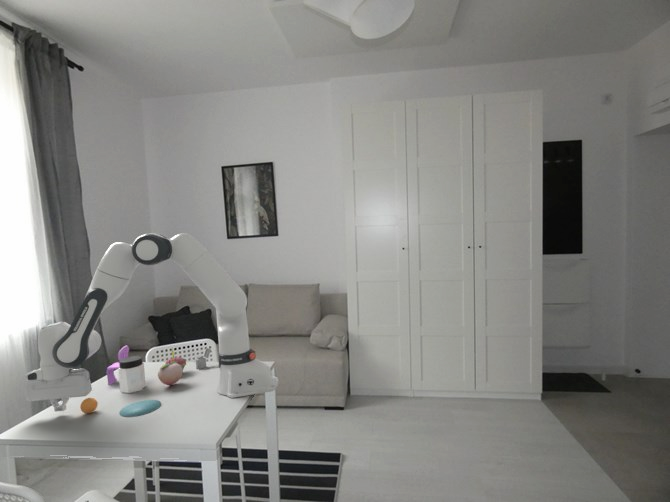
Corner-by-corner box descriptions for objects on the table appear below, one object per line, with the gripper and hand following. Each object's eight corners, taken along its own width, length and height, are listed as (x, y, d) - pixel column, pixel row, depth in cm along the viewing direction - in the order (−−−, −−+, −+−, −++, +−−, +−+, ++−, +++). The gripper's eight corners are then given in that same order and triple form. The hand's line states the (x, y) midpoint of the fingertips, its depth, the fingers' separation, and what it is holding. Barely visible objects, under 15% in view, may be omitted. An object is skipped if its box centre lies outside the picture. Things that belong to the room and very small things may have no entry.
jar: (121, 395, 151) (118, 363, 151) (119, 389, 158) (116, 359, 158) (147, 389, 156) (144, 358, 156) (144, 383, 163) (141, 354, 163)
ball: (101, 408, 140) (99, 394, 139) (93, 415, 135) (91, 400, 134) (86, 410, 139) (84, 396, 139) (77, 416, 134) (76, 401, 134)
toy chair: (116, 379, 171) (113, 344, 170) (136, 377, 171) (134, 342, 170) (105, 386, 162) (102, 350, 162) (127, 384, 163) (124, 348, 162)
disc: (166, 398, 145) (166, 398, 145) (152, 414, 132) (152, 414, 132) (129, 402, 144) (129, 401, 144) (111, 418, 131) (111, 417, 131)
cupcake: (182, 377, 168) (179, 348, 167) (162, 378, 168) (159, 350, 167) (189, 370, 176) (187, 343, 176) (170, 371, 176) (168, 344, 176)
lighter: (198, 369, 176) (197, 351, 176) (196, 369, 177) (194, 351, 177) (212, 364, 182) (210, 347, 182) (209, 364, 183) (208, 347, 183)
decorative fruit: (173, 390, 153) (171, 364, 152) (155, 389, 155) (153, 364, 154) (188, 381, 162) (186, 357, 161) (171, 380, 164) (169, 356, 163)
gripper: (93, 364, 140) (97, 403, 140) (32, 370, 138) (36, 409, 139) (83, 370, 133) (87, 411, 134) (19, 376, 132) (23, 417, 133)
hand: (60, 410), depth 136 cm, fingers closed
